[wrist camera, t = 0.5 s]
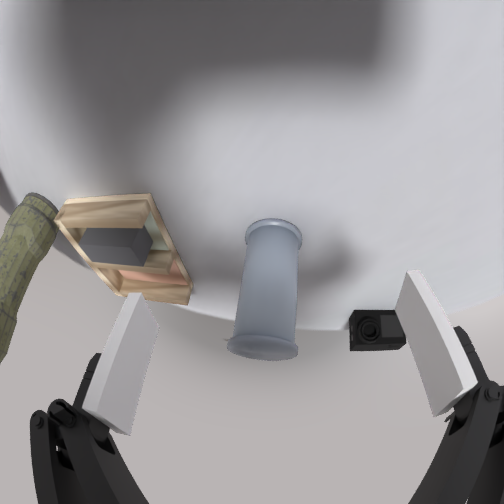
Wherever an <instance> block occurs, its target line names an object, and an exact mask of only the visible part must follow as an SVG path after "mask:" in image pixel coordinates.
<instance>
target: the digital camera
mask: <svg viewBox="0 0 504 504" xmlns="http://www.w3.org/2000/svg"><path fill="white" fill-rule="evenodd" d="M349 329H350V351H382V350H398V349H400V348H401V347H402V346H404V345H405V344H406V335H405V333H404V330H403V328H402V326H401V323H400V321H399V319H398V316H397V314H396V312H395V310H354V312H353V313H352V315H351V316H350V318H349Z"/></svg>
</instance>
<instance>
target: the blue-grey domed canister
mask: <svg viewBox="0 0 504 504" xmlns="http://www.w3.org/2000/svg"><path fill="white" fill-rule="evenodd" d="M245 241H246V244H247V251H246V257H245V263H244V270H243V276H242V282H241V288H240V295H239V301H238V307H237V313H236V320H235V326H234V333H233V337H232V338H230V339H229V340H228V344H227V349H228V350H229V351H230V352H232V353H234V354H236V355H239V356H242V357H246V358H251V359H257V360H267V361H279V360H288V359H292V358H294V357H296V356H297V355H298V346H297V345H296V344H295V343H294V341H295V324H296V305H297V281H298V250H299V249H300V247H301V245H302V235H301V232H300V231H299V229H298V228H297V227H296V226H294V225H293V224H291V223H289V222H287V221H284V220H280V219H263V220H259V221H257V222H255V223H253V224H252V225H250V226H249V228H248V229H247V231H246V236H245Z"/></svg>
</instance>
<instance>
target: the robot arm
mask: <svg viewBox="0 0 504 504" xmlns="http://www.w3.org/2000/svg"><path fill="white" fill-rule="evenodd" d="M395 312H396V314H397V316H398V319H399V321H400V323H401V326H402V328H403V330H404V333H405V335H406V338H407V340H408V343H409V345H410V348H411V351H412V353H413V356H414V359H415V361H416V364H417V367H418V370H419V373H420V376H421V379H422V382H423V384H424V388H425V391H426V394H427V397H428V400H429V404H430V407H431V410H432V414H433V417H435V416H438V415H441V414H444V413H446V412H448V411H449V410H450V409H451V408H452V407H454V410H455V411H454V412H453V413H452V414H451V415H449V416H448V417H447V418H446V420H445V422H447V421H448V420H449V419H450V422H449V424H448V427H447V430H446V432H445V435H444V437H443V439H442V442H441V444H440V446H439V448H438V451H437V453H436V455H435V457H434V459H433V461H432V463H431V465H430V467H429V469H428V471H427V473H426V475H425V476H424V478H423V480H422V482H421V484H420V485H419V487H418V489H417V490H416V492H415V494H414V495H413V497H412V499H411V500H410V502H409V503H408V504H465V503H466V501H467V499H468V501H467V504H504V386H499V385H498V384H497V383H496V382H494V381H490V380H489V379H488V377H487V375H486V373H485V370H484V368H483V366H482V363H481V361H480V359H479V357H478V355H477V353H476V352H475V348H474V346H473V345H472V344H471V343H472V342H471V340H470V339H469V336H468V334H467V333H466V332H465V331H464V330H463V329H462V328H461V327H460V326H457V327H454V328H453V327H452V325H451V323H450V321H449V319H448V317H447V316H446V314H445V312H444V310H443V308H442V306H441V305H440V303H439V301H438V299H437V298H436V296H435V294H434V293H433V291H432V289H431V288H430V286H429V284H428V283H427V281H426V279H425V278H424V276H423V275H422V273H421V271H420V270H411V271H407V272H406V275H405V279H404V282H403V286H402V289H401V292H400V295H399V298H398V302H397V305H396V307H395ZM159 328H160V327H159V325H158V324H157V322H156V320H155V318H154V316H153V314H152V312H151V310H150V308H149V306H148V305H147V302H146V301H145V298H144V296H143V294H142V292H140V293H129V294H128V296H127V298H126V300H125V302H124V305H123V307H122V309H121V311H120V313H119V315H118V317H117V320H116V322H115V324H114V326H113V329H112V331H111V333H110V336H109V338H108V340H107V343H106V345H105V347H104V350H103V352H102V354H101V353H96V354H95V355H94V356H93V358H92V359H91V360H90V362H89V364H88V367H87V369H86V372H85V374H84V377H83V379H82V382H81V384H80V388H79V390H78V392H77V395H76V398H75V401H74V404H73V406H71V405H70V404H68V403H67V402H66V401H65V400H63V399H56V400H54V401H53V402H52V403H51V404H50V406H49V408H48V411H47V413H45V412H44V411H42V410H37V411H35V412H34V413H33V414H32V416H31V419H30V443H31V457H32V467H33V476H34V483H35V489H36V494H37V499H38V504H149V503H148V501H147V500H146V498H145V497H144V495H143V494H142V492H141V490H140V489H139V487H138V486H137V484H136V482H135V480H134V479H133V477H132V475H131V473H130V472H129V470H128V468H127V466H126V464H125V462H124V461H123V459H122V457H121V455H120V453H119V451H118V449H117V447H116V445H115V442H114V440H113V438H112V436H111V435H110V433H109V429H112V430H113V431H115V432H116V433H120V434H124V435H129V436H130V434H131V429H132V425H133V421H134V417H135V413H136V409H137V405H138V401H139V397H140V393H141V389H142V386H143V382H144V379H145V375H146V372H147V368H148V365H149V361H150V358H151V354H152V351H153V348H154V344H155V341H156V338H157V335H158V331H159ZM56 446H58V451H56ZM468 497H469V498H468Z"/></svg>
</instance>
